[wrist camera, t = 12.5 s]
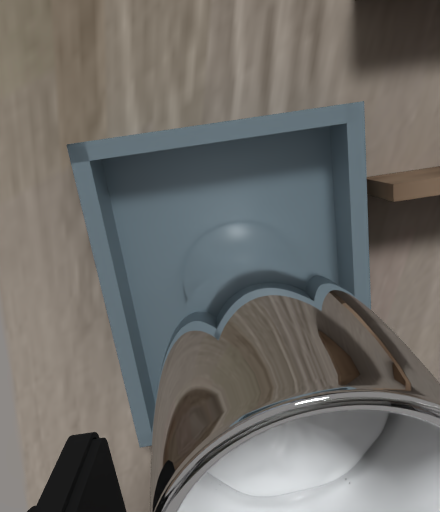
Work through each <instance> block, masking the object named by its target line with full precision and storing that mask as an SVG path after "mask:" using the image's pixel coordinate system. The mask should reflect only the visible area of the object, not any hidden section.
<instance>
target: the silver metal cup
mask: <svg viewBox="0 0 440 512" xmlns="http://www.w3.org/2000/svg"><path fill="white" fill-rule="evenodd" d="M183 283H184V290H185V294H186V297H187V299H188V300H187V302H186V304H185V306H184V308H183V309H182V311H181V313H180V315H179V317H178V319H177V321H176V324H175V326H174V329H173V331H172V334H171V336H170V339H169V341H168V344H167V347H166V350H165V353H164V357H163V362H162V367H161V371H160V376H159V381H158V386H157V392H156V401H155V411H154V420H153V430H152V451H151V477H150V512H440V383H439V382H438V381H437V379H436V378H435V377H434V376H433V375H432V374H431V372H430V371H429V370H428V369H427V368H426V367H425V366H424V364H423V363H422V362H421V361H420V360H419V359H418V358H417V356H416V355H415V354H414V353H413V352H412V351H411V350H410V348H409V347H408V346H407V345H406V344H405V343H404V342H403V341H402V340H401V339H400V338H399V337H398V336H397V335H396V334H395V333H394V332H393V331H392V330H391V329H390V328H389V327H388V326H387V325H386V324H385V323H384V322H383V320H382V319H381V318H380V317H378V316H377V315H376V314H375V313H374V312H373V311H372V310H370V309H369V308H368V307H367V306H366V305H364V304H363V303H362V302H361V301H360V300H358V299H357V298H356V297H355V296H354V295H352V294H351V293H350V292H349V291H347V290H346V289H344V288H343V287H341V286H340V285H338V284H336V283H334V282H333V281H331V280H329V279H328V278H326V277H324V276H323V275H321V274H319V273H317V272H315V271H313V270H311V269H308V268H306V267H304V266H302V265H299V264H297V263H295V262H294V259H293V256H292V254H291V251H290V250H289V248H288V246H287V245H286V243H285V242H284V241H283V240H282V239H281V238H280V237H279V236H278V235H277V234H276V233H275V232H273V231H272V230H270V229H268V228H266V227H264V226H261V225H258V224H254V223H249V222H234V223H228V224H225V225H221V226H219V227H217V228H214V229H213V230H211V231H209V232H208V233H206V234H205V235H204V236H203V237H201V238H200V239H199V240H198V241H197V243H196V244H195V245H194V246H193V248H192V250H191V251H190V253H189V255H188V257H187V260H186V263H185V267H184V273H183Z"/></svg>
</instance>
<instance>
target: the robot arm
mask: <svg viewBox="0 0 440 512" xmlns="http://www.w3.org/2000/svg"><path fill="white" fill-rule="evenodd" d="M27 512H126V509H125V505H124V501H123V498H122V494H121V490H120V486H119V483H118V479H117V475H116V472H115V468H114V464H113V461H112V457H111V453H110V450H109V446H108V442H107V440H106V438H99V435H98V434H97V433H96V432H92V433H85V434H78V435H71V436H70V437H69V438H68V440H67V441H66V444H65V446H64V448H63V450H62V452H61V454H60V456H59V459H58V461H57V463H56V465H55V467H54V469H53V471H52V474H51V476H50V478H49V480H48V482H47V484H46V486H45V488H44V491H43V493H42V495H41V497H40V499H39V501H38V503H37V506H33V507H32V508H30V509H29V510H28V511H27Z"/></svg>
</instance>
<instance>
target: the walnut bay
mask: <svg viewBox="0 0 440 512" xmlns="http://www.w3.org/2000/svg"><path fill="white" fill-rule="evenodd" d="M367 194H368V195H371V196H375V197H378V198H382V199H385V200H389V201H392V202H396V201H403V200H409V199H416V198H422V197H429V196H436V195H440V166H439V167H432V168H425V169H419V170H412V171H405V172H399V173H392V174H385V175H379V176H372V177H367Z"/></svg>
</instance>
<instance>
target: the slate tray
mask: <svg viewBox="0 0 440 512" xmlns="http://www.w3.org/2000/svg"><path fill="white" fill-rule="evenodd" d="M67 149H68V153H69V157H70V161H71V165H72V169H73V173H74V177H75V182H76V186H77V190H78V194H79V198H80V202H81V206H82V211H83V215H84V219H85V223H86V227H87V231H88V235H89V239H90V244H91V248H92V252H93V256H94V260H95V264H96V268H97V272H98V277H99V281H100V285H101V289H102V293H103V297H104V301H105V305H106V310H107V314H108V318H109V322H110V326H111V330H112V334H113V338H114V343H115V347H116V351H117V355H118V359H119V363H120V367H121V371H122V376H123V380H124V384H125V388H126V392H127V396H128V400H129V404H130V409H131V413H132V417H133V421H134V425H135V429H136V433H137V437H138V442H139V446H140V447H146V446H152V430H153V420H154V411H155V401H156V392H157V386H158V381H159V376H160V371H161V367H162V362H163V357H164V353H165V350H166V347H167V344H168V341H169V339H170V336H171V334H172V331H173V329H174V326H175V324H176V321H177V319H178V317H179V315H180V313H181V311H182V309H183V308H184V306H185V304H186V302H187V300H188V299H187V297H186V294H185V290H184V283H183V273H184V267H185V263H186V260H187V257H188V255H189V253H190V251H191V250H192V248H193V246H194V245H195V244H196V243H197V241H198V240H199V239H200V238H201V237H203V236H204V235H205V234H206V233H208V232H209V231H211V230H213V229H214V228H217V227H219V226H221V225H225V224H228V223H234V222H249V223H254V224H258V225H261V226H264V227H266V228H268V229H270V230H272V231H273V232H275V233H276V234H277V235H278V236H279V237H280V238H281V239H282V240H283V241H284V242H285V243H286V245H287V246H288V248H289V250H290V251H291V254H292V256H293V259H294V262H295V263H297V264H299V265H302V266H304V267H306V268H308V269H311V270H313V271H315V272H317V273H319V274H321V275H323V276H324V277H326V278H328V279H329V280H331V281H333V282H334V283H336V284H338V285H340V286H341V287H343V288H344V289H346V290H347V291H349V292H350V293H351V294H352V295H354V296H355V297H356V298H357V299H358V300H360V301H361V302H362V303H363V304H364V305H366V306H367V307H368V308H369V309H370V310H371V297H370V267H369V237H368V207H367V177H366V147H365V117H364V101H363V102H356V103H349V104H342V105H335V106H328V107H321V108H315V109H308V110H301V111H294V112H287V113H280V114H273V115H266V116H260V117H253V118H246V119H239V120H232V121H225V122H218V123H211V124H205V125H198V126H191V127H184V128H177V129H170V130H163V131H157V132H150V133H143V134H136V135H129V136H122V137H115V138H108V139H102V140H95V141H88V142H81V143H74V144H67Z"/></svg>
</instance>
